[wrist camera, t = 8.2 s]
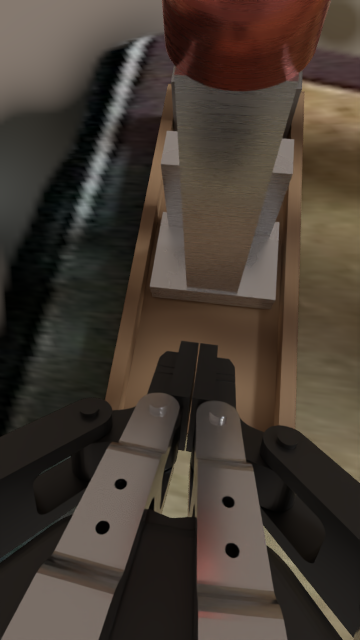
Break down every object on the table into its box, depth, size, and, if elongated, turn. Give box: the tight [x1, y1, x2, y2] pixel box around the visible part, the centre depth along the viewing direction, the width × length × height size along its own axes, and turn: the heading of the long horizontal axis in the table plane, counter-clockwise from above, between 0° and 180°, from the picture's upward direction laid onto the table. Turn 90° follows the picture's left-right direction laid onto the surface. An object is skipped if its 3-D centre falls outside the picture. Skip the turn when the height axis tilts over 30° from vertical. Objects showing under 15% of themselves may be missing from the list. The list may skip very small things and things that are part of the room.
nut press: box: [105, 65, 304, 434], centre depth 21 cm, size 24×10×6 cm, turn 172°
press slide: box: [150, 0, 331, 310], centre depth 14 cm, size 6×7×16 cm
